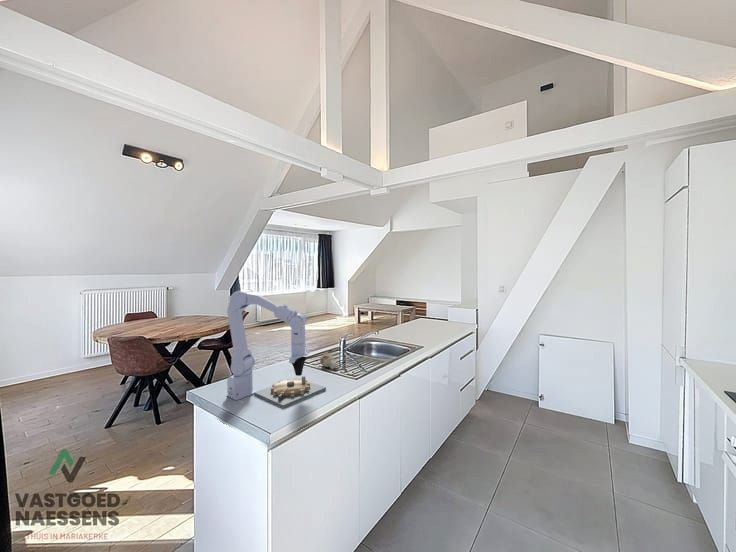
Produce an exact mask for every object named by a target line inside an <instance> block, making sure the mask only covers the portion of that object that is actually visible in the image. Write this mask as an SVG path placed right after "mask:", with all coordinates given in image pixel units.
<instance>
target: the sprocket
mask: <svg viewBox="0 0 736 552" xmlns="http://www.w3.org/2000/svg"><path fill="white" fill-rule="evenodd" d="M300 379H302V380H300ZM307 381H308V380H307V379H306V376H305V375H303V376H302V375H301V378H299V379H296V380H291V378H288V379H286V380H279V381H278V382H277V383H273V384H271V386H272V387H271V386H270V387H271V392H273V395H280V394H283V397H284V396H291V397H293V396H294V395H297V394H304V391H309V387H310V382H311V381H308V383H307Z"/></svg>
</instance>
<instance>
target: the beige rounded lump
mask: <svg viewBox="0 0 736 552" xmlns="http://www.w3.org/2000/svg"><path fill="white" fill-rule="evenodd" d="M320 364H321V365H322V367H325V368H329V369H331V370H335V369H337V368H338V367H339V366H340V365H339V364H338V363H337V362H336V361H335V359H334V356H333V355H332V354H331V353H328V352H326V353H324V354H323V355H321V357H320ZM334 368H335V369H334ZM339 368H340V367H339Z"/></svg>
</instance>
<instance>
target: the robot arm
mask: <svg viewBox="0 0 736 552" xmlns="http://www.w3.org/2000/svg"><path fill="white" fill-rule="evenodd" d="M250 305H258V306H260V307H262V308H263V309H266V310H268V311H270V312H272V313H273V315H274V317H275V318H277V319H279V320H280V321H283V322H284V323H286V324H288V325H289V327H290V331H291V332H290V333H291V334H290V337H291V338H290V342H291V344H290V347H291V348H290V349H291V354H290V357H288V358H289V359H288V360H289V361H288V362H289V364H291V365H292V367H293V370H294V374H295V376H297V377H300V376H301V377H302V375H303V369H304V366H305V362H306V361H307V356H309V353H308V349H307V348H306V323H307V320H308V318H307V316H306V315H305V314H304V313H303V312H298V310H293V309H291V308H290V307H288V305H287V304H279V305H278V304H276V303H274V302H273V301H271V300H269V299H268V298H267V297H265V296H263V295H261V294H260V293H259V292H257V291H254V290H252V289H249V288H248V289H244V290H236V291H234V292H233V293H232V294H231V295H230V297H229V303H228V307H227V310H226V311H227V312H226V313H227V318H228V324H229V331H230V336H231V342H232V347H233V354H232V356H231V359H230V361H231V362H230V363H231V364H230V370H231V373H232V375H230V376H229V377H228V378H227V382H226V384H227V385H226V386H227V387H226V389H227V394H226V396H227V397H229V398H231V399H232V400H233V399H234V400H235V401H237V400H240V399H244V398H246V397H249V396H252V395H254V392H257V391H258V390H254V389H253V388H254V386H253V367H254V366H255V364H256V361H255V358H254V356H253V355H252V351H251V350H250V349H249V347H248V344H247V343H248V342H247V337H246V336H247V335H246V331H245V325H244V319H243V318H244V317H243V314H242V313H243V312H244V310H245V309H246V308H247V307H249V306H250Z"/></svg>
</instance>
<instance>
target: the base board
mask: <svg viewBox="0 0 736 552" xmlns="http://www.w3.org/2000/svg"><path fill="white" fill-rule="evenodd" d="M290 379H291V378H290ZM296 379H300V380H302V378H299V377H295V378H292V379H291V380H296ZM308 382H310V387H309V391H304V394H297V395H294V396H293V397H291V396H284V397H283V394H280V395H273V392H271V387H272V385H271V386H269V387H266V388H262V389H260V390H256V391H257V392H254V394H253V395H254V396H255V397H258V398H259V399H262V400H264V401H265V402H268V403H271V404H273V405H274V406H277V407H279V408H281V409H285V408H287V407H289V406H292V405H294V404H296V403H297V404H298V403H299V402H301V401H303V400H307V399H308V397H309V398H311V397H313V396H315V394H316V395H317V393H318V394H320V393H323V392H324V390H325V391H327V387H326V386H323V385H320V384H317V383H314V382H311V381H308V380H307V383H308ZM322 391H323V392H322ZM310 396H311V397H310Z"/></svg>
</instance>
